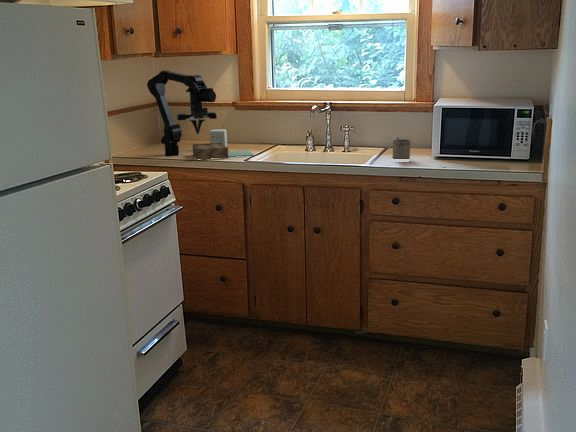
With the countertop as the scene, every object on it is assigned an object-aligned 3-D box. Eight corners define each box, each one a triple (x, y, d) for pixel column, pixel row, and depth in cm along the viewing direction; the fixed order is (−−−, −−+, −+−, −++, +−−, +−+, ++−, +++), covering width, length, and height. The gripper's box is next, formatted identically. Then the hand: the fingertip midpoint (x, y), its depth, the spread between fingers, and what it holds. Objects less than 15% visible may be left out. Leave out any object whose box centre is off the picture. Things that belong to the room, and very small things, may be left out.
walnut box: (198, 160, 305) (197, 149, 304) (193, 155, 320) (192, 144, 318) (228, 158, 309) (227, 147, 308) (222, 153, 324) (221, 142, 323)
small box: (227, 148, 337) (226, 129, 334) (225, 150, 331) (224, 130, 328) (212, 148, 337) (211, 129, 335) (210, 150, 332) (209, 130, 329)
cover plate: (228, 159, 311) (228, 156, 311) (223, 154, 323) (223, 151, 323) (253, 157, 314) (253, 154, 314) (248, 153, 326) (248, 150, 326)
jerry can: (394, 158, 304) (395, 133, 301) (414, 160, 300) (415, 134, 296) (384, 163, 292) (385, 138, 288) (404, 165, 287) (405, 139, 284)
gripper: (178, 104, 295) (180, 137, 299) (218, 102, 300) (219, 134, 304) (175, 101, 305) (177, 133, 309) (213, 100, 310) (215, 131, 314)
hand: (197, 133), depth 309 cm, fingers closed
